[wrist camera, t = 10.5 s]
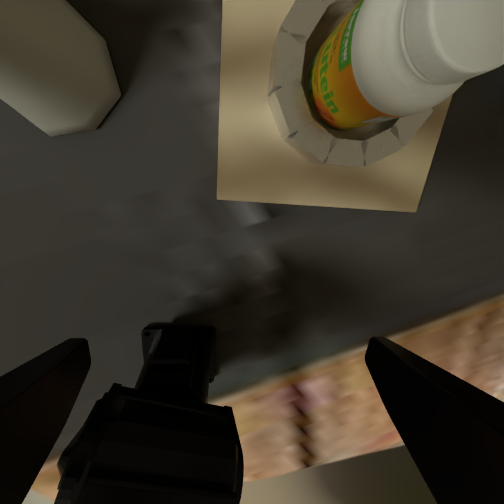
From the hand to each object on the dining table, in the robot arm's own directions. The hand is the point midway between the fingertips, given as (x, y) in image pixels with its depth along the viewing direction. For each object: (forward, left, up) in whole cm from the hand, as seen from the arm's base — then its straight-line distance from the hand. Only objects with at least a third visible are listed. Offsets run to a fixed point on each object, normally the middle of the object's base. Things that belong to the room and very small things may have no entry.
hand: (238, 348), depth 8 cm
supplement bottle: (+11, -7, -12) cm, 18 cm away
